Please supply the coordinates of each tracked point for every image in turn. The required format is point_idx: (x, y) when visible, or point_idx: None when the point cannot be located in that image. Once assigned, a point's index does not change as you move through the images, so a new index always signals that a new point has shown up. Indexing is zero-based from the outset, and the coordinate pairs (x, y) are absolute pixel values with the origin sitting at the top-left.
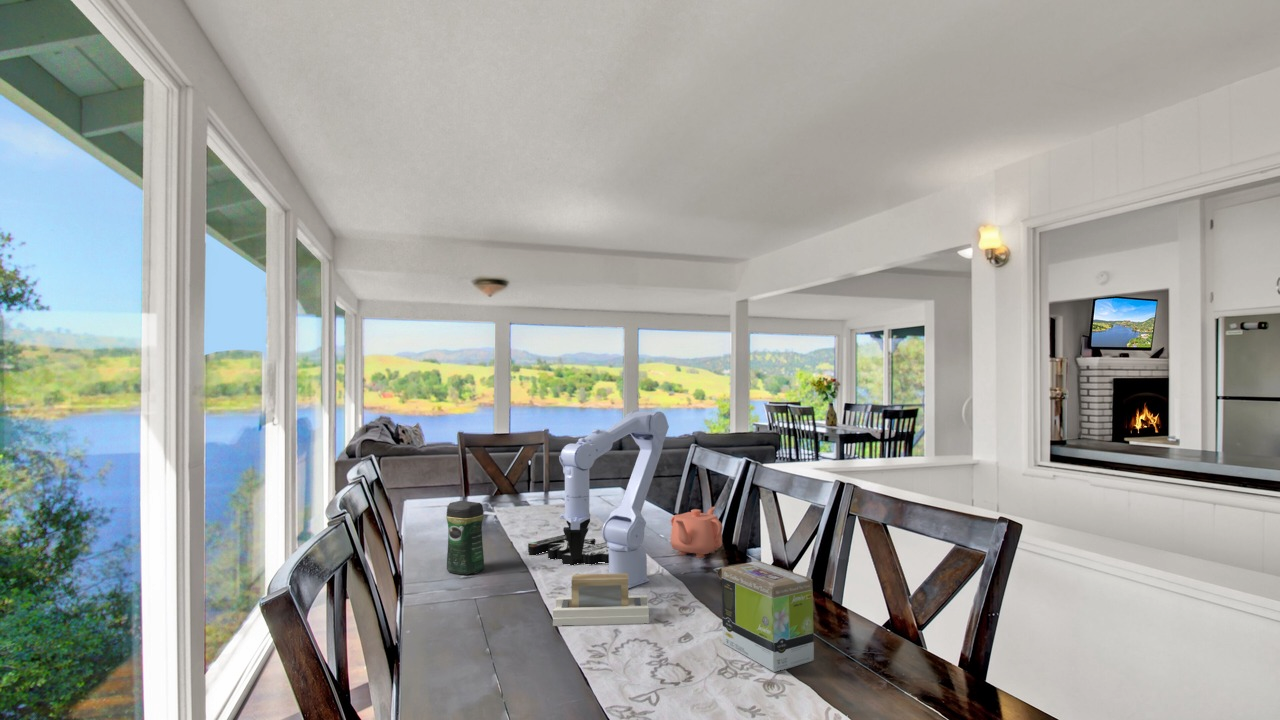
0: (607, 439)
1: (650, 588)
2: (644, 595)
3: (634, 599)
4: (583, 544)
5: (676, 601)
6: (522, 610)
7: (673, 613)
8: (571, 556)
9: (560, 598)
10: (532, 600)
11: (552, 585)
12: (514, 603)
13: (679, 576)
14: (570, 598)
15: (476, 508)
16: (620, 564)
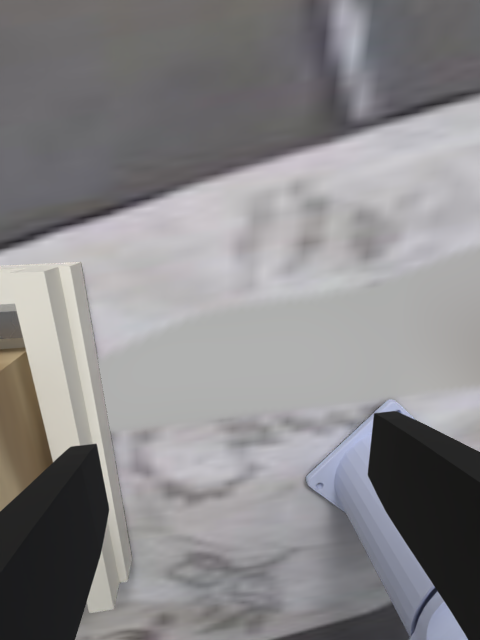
0: None
1: (319, 545)
2: (109, 602)
3: None
4: (395, 524)
5: (195, 618)
6: (65, 84)
7: (90, 622)
8: (50, 465)
9: (28, 294)
10: (212, 120)
11: (411, 195)
12: (167, 17)
13: None
14: (37, 343)
15: None
16: (376, 544)
